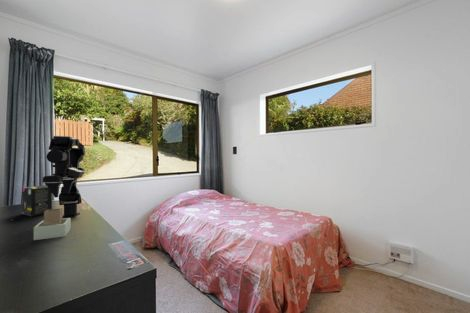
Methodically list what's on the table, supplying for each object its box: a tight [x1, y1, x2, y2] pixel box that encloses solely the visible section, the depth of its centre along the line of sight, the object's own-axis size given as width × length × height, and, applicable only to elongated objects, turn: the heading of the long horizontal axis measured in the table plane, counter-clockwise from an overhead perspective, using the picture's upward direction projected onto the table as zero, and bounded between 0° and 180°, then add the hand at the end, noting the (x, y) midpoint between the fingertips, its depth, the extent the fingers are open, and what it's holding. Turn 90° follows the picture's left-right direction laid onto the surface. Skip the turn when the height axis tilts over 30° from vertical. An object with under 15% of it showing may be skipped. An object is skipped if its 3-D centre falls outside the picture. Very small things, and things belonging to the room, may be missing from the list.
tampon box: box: [21, 185, 53, 217], centre depth 121 cm, size 11×9×15 cm
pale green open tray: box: [33, 217, 72, 241], centre depth 89 cm, size 10×10×5 cm
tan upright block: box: [43, 208, 63, 226], centre depth 89 cm, size 4×5×9 cm
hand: (62, 195), depth 104 cm, fingers open, 9 cm apart
